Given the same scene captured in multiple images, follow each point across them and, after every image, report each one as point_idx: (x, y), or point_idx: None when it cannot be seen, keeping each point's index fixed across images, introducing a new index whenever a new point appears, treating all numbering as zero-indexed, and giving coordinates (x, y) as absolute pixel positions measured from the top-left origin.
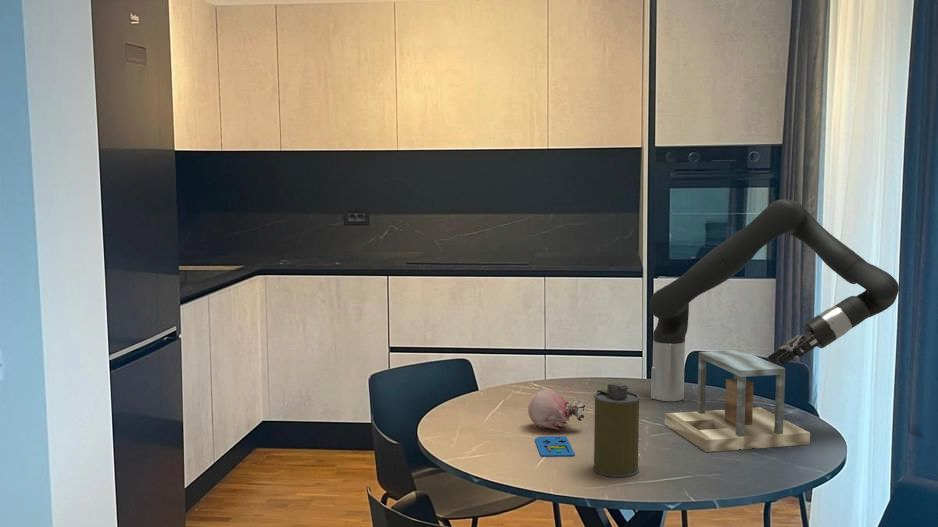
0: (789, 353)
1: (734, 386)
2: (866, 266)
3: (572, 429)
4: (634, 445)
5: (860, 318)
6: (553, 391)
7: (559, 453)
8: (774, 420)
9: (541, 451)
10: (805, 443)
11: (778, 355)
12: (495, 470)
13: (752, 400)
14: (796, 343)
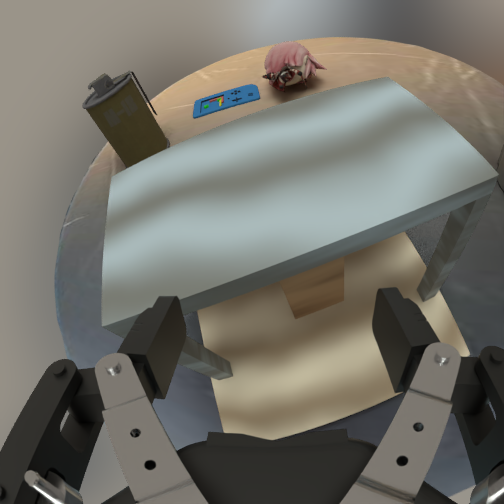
0: (118, 352)
1: None
2: None
3: (295, 97)
4: (112, 146)
5: None
6: (289, 46)
7: (197, 108)
8: (343, 384)
9: (205, 98)
10: None
11: (392, 349)
12: (168, 95)
13: (284, 292)
14: (104, 413)
